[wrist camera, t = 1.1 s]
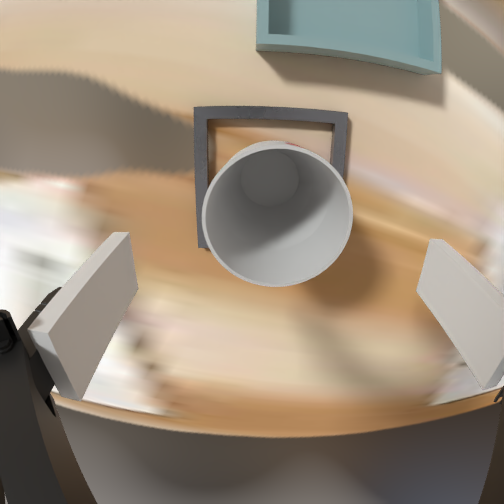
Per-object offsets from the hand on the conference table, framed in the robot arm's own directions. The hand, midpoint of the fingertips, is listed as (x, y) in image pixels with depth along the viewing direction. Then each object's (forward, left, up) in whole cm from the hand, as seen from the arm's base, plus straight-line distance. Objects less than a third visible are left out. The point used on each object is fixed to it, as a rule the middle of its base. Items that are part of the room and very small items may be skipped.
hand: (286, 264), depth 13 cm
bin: (-18, +6, -14) cm, 24 cm away
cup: (0, 0, -14) cm, 14 cm away
